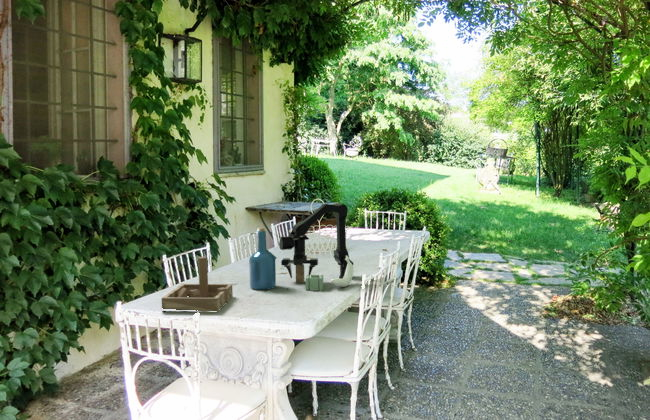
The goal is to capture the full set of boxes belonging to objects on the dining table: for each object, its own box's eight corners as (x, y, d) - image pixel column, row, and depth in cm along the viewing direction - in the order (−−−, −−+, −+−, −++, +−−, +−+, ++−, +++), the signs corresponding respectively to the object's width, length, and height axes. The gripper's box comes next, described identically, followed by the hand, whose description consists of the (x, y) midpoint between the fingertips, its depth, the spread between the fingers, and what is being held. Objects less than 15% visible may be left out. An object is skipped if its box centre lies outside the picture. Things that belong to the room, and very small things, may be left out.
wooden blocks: (169, 305, 257) (167, 261, 256) (207, 297, 271) (205, 255, 269) (190, 312, 245) (187, 266, 243) (228, 303, 259) (226, 259, 257)
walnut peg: (296, 281, 302) (296, 264, 301) (304, 281, 301) (304, 264, 301) (295, 283, 298) (295, 265, 297) (303, 283, 297) (303, 265, 297)
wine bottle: (251, 291, 281) (250, 230, 278) (248, 285, 294) (246, 227, 291) (279, 289, 285) (278, 229, 282) (274, 283, 297) (273, 225, 294)
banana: (330, 290, 281) (330, 260, 280) (347, 282, 298) (346, 254, 297) (339, 291, 279) (339, 261, 278) (355, 283, 296) (355, 254, 294)
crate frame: (182, 296, 273) (182, 283, 272) (232, 296, 271) (232, 284, 270) (162, 311, 246) (161, 298, 245) (217, 312, 244) (216, 298, 243)
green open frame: (307, 286, 289) (307, 274, 289) (323, 286, 289) (323, 274, 288) (305, 290, 281) (305, 278, 281) (322, 290, 281) (321, 278, 280)
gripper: (279, 251, 291) (279, 281, 292) (316, 251, 289) (316, 281, 291) (282, 247, 302) (283, 276, 303) (318, 247, 300) (318, 277, 302)
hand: (300, 278), depth 299 cm, fingers open, 9 cm apart
